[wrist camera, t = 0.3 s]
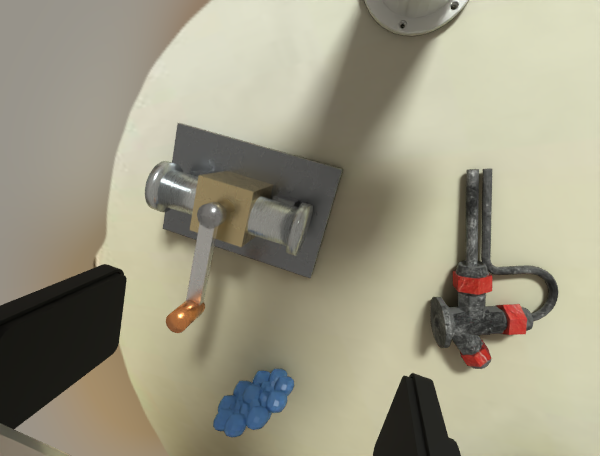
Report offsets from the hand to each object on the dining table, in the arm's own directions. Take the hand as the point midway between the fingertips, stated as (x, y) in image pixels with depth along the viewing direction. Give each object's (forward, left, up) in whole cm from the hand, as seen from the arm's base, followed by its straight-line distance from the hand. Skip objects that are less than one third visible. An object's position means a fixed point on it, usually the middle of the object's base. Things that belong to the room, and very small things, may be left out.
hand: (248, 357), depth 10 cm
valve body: (+5, -13, -36) cm, 39 cm away
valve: (+4, +21, -37) cm, 42 cm away
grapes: (+33, -3, -36) cm, 49 cm away
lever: (+10, -13, -26) cm, 31 cm away
